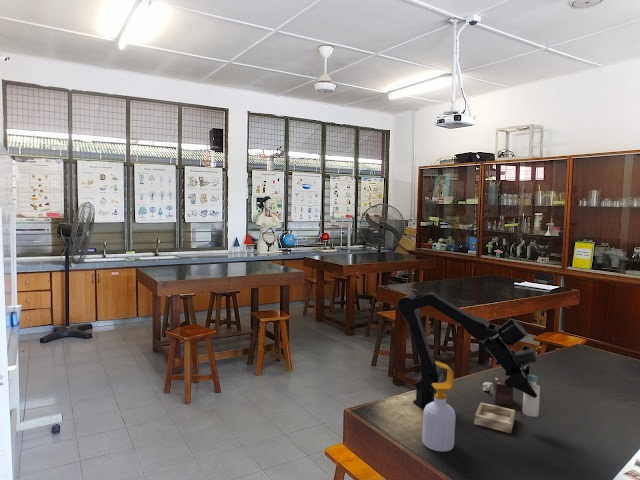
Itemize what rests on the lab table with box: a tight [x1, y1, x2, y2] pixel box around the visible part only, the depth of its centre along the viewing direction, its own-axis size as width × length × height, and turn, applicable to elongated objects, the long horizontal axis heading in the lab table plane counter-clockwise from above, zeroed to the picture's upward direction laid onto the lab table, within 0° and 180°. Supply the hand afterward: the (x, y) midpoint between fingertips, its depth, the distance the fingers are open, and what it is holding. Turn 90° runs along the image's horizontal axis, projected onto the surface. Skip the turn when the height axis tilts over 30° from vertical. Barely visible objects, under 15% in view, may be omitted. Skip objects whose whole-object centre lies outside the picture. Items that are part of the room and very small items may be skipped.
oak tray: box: [473, 402, 516, 434], centre depth 148 cm, size 11×11×3 cm
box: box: [491, 377, 514, 406], centre depth 163 cm, size 6×6×7 cm
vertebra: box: [482, 381, 493, 395], centre depth 171 cm, size 6×7×4 cm
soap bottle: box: [421, 360, 457, 453], centre depth 132 cm, size 9×9×25 cm
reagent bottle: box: [521, 374, 541, 418], centre depth 142 cm, size 5×5×12 cm
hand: (536, 394), depth 141 cm, fingers closed on reagent bottle, 5 cm apart
